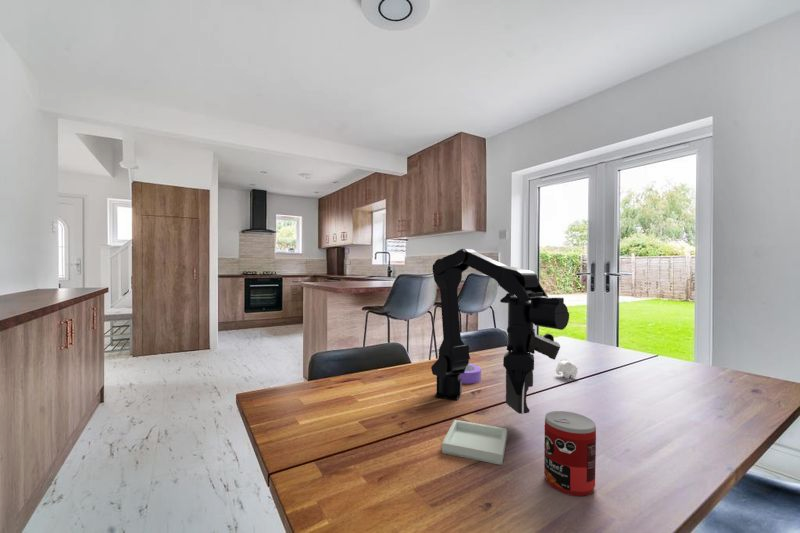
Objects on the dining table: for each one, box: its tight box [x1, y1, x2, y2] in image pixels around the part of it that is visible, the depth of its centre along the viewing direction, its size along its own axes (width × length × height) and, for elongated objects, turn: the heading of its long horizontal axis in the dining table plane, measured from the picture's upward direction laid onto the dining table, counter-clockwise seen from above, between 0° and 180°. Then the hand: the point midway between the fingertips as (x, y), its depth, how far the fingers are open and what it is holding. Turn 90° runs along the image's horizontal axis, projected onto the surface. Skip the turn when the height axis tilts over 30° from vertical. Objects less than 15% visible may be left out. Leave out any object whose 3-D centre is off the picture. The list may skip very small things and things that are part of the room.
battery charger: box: [505, 370, 534, 415], centre depth 83 cm, size 7×4×11 cm, turn 11°
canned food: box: [543, 410, 597, 497], centre depth 61 cm, size 8×8×11 cm
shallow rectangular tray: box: [441, 419, 508, 466], centre depth 73 cm, size 12×12×2 cm
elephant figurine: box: [555, 357, 580, 380], centre depth 121 cm, size 7×8×6 cm
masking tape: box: [460, 362, 482, 385], centre depth 118 cm, size 12×12×4 cm
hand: (519, 389), depth 83 cm, fingers closed on battery charger, 7 cm apart
